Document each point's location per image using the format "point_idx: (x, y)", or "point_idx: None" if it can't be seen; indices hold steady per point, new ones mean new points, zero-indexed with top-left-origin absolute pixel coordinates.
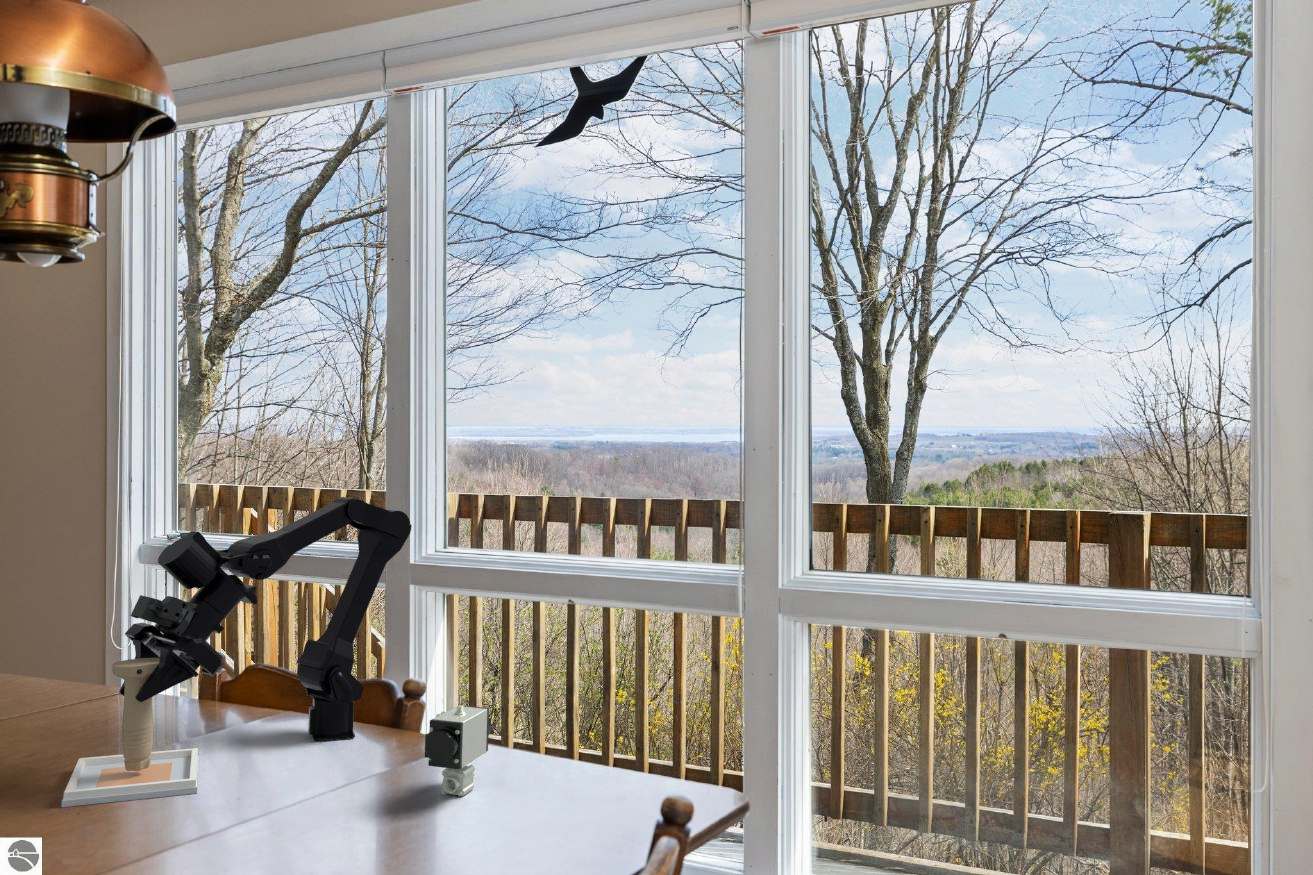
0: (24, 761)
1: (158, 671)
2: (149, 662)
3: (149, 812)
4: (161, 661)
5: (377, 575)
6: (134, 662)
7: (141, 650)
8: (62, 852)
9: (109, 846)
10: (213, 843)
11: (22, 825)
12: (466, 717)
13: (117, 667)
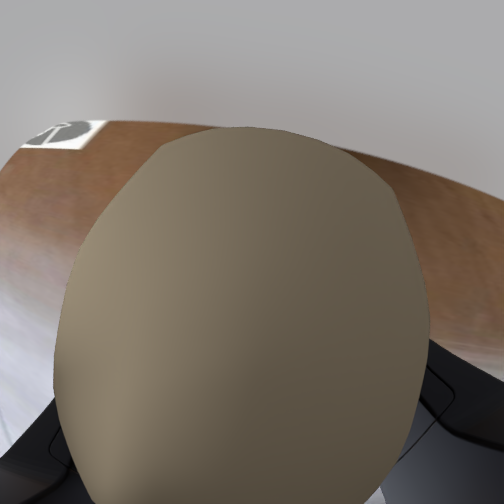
0: (465, 200)
1: (34, 422)
2: (151, 452)
3: (65, 290)
4: (24, 478)
5: None
6: (258, 337)
7: (489, 451)
8: (26, 165)
9: (6, 211)
10: None
11: (138, 131)
12: None
13: (161, 149)
